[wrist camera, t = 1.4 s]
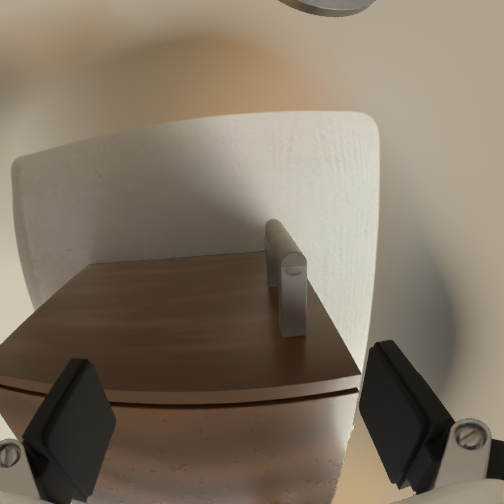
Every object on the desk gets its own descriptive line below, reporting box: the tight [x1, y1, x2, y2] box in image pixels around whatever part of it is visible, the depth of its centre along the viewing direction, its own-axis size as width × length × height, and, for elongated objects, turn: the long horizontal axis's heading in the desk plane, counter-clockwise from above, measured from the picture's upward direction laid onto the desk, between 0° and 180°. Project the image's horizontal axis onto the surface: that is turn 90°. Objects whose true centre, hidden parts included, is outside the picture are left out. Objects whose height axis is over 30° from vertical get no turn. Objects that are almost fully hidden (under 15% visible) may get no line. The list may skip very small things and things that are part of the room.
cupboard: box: [0, 384, 359, 504], centre depth 29 cm, size 18×26×24 cm
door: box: [0, 219, 361, 404], centre depth 26 cm, size 7×26×24 cm, turn 93°
